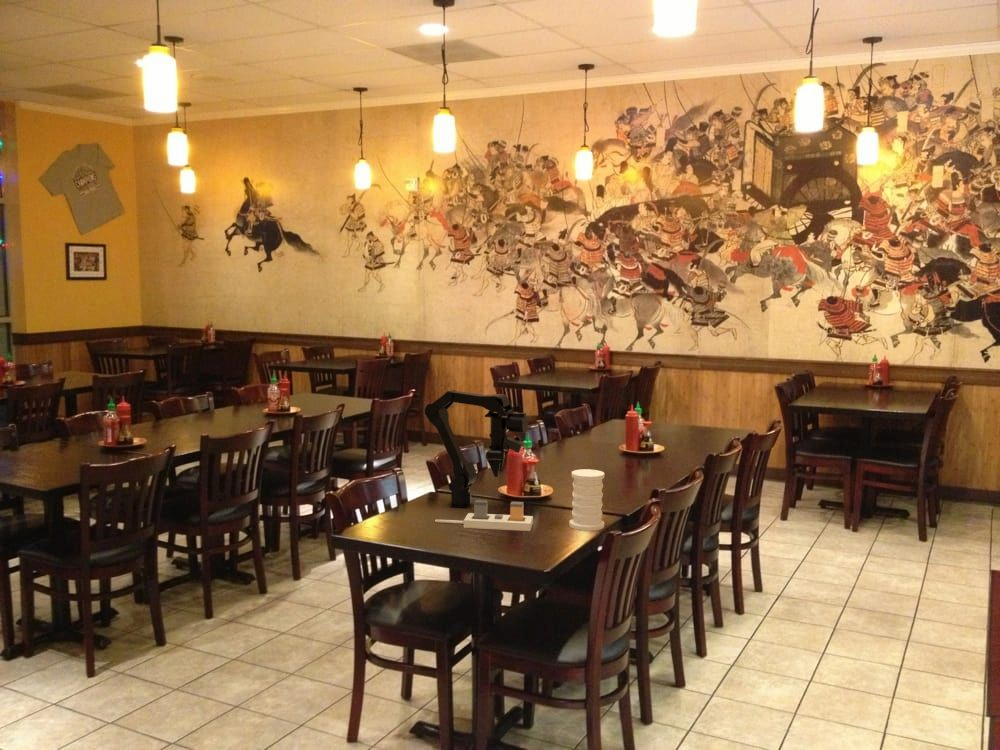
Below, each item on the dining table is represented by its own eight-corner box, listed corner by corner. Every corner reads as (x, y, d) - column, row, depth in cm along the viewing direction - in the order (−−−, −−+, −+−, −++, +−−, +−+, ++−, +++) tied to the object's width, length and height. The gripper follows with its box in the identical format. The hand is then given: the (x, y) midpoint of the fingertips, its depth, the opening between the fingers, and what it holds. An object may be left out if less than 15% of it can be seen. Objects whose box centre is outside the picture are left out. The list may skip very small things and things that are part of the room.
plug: (510, 527, 291) (510, 503, 290) (511, 524, 294) (511, 501, 293) (522, 528, 290) (522, 504, 289) (523, 525, 293) (523, 502, 292)
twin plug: (474, 525, 292) (474, 502, 291) (475, 523, 295) (475, 499, 294) (486, 526, 292) (486, 502, 291) (487, 523, 295) (487, 500, 294)
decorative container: (568, 529, 289) (569, 475, 287) (570, 520, 300) (571, 468, 298) (603, 531, 287) (605, 477, 285) (604, 521, 299) (606, 469, 297)
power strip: (432, 526, 291) (432, 516, 291) (437, 518, 300) (437, 509, 300) (530, 531, 287) (530, 521, 287) (532, 523, 296) (533, 513, 295)
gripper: (518, 436, 298) (517, 481, 300) (524, 426, 317) (523, 469, 319) (485, 434, 300) (485, 479, 302) (493, 425, 318) (493, 468, 320)
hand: (498, 474), depth 310 cm, fingers open, 9 cm apart
